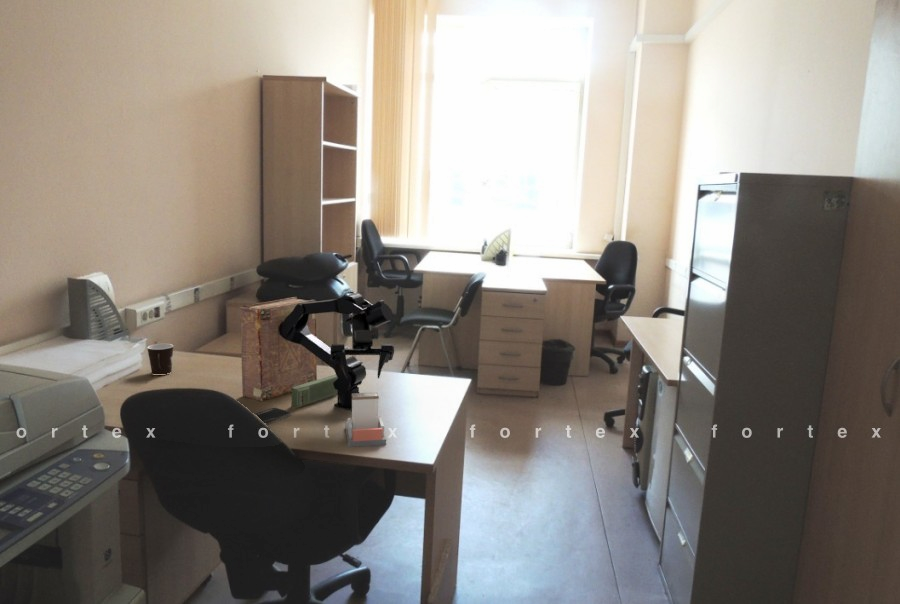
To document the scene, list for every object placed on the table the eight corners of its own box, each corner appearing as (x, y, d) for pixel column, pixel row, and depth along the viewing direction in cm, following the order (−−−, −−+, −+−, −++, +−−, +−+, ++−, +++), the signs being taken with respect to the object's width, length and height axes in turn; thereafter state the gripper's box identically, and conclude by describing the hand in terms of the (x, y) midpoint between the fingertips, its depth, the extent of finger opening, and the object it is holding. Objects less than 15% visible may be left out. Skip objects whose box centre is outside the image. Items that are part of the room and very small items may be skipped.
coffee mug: (157, 369, 236) (156, 343, 234) (179, 370, 235) (178, 344, 233) (138, 378, 225) (136, 350, 223) (161, 379, 223) (159, 352, 222)
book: (297, 378, 230) (296, 296, 225) (317, 382, 226) (316, 299, 220) (242, 396, 209) (239, 306, 204) (262, 401, 204) (260, 310, 199)
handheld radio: (289, 406, 201) (345, 388, 221) (296, 409, 199) (352, 390, 219) (289, 386, 199) (346, 369, 220) (297, 389, 198) (353, 372, 218)
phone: (233, 420, 185) (274, 407, 197) (234, 424, 185) (274, 410, 197) (251, 427, 181) (292, 412, 193) (251, 430, 181) (292, 416, 193)
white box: (351, 427, 180) (351, 393, 178) (377, 426, 181) (377, 392, 180) (352, 431, 177) (352, 397, 175) (378, 430, 178) (378, 396, 176)
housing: (345, 428, 184) (345, 413, 183) (379, 426, 186) (380, 411, 185) (348, 446, 171) (348, 430, 170) (386, 444, 173) (386, 428, 172)
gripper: (331, 317, 186) (331, 365, 178) (395, 318, 190) (398, 365, 182) (330, 336, 195) (330, 382, 187) (390, 337, 200) (393, 382, 191)
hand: (362, 377), depth 187 cm, fingers open, 9 cm apart
